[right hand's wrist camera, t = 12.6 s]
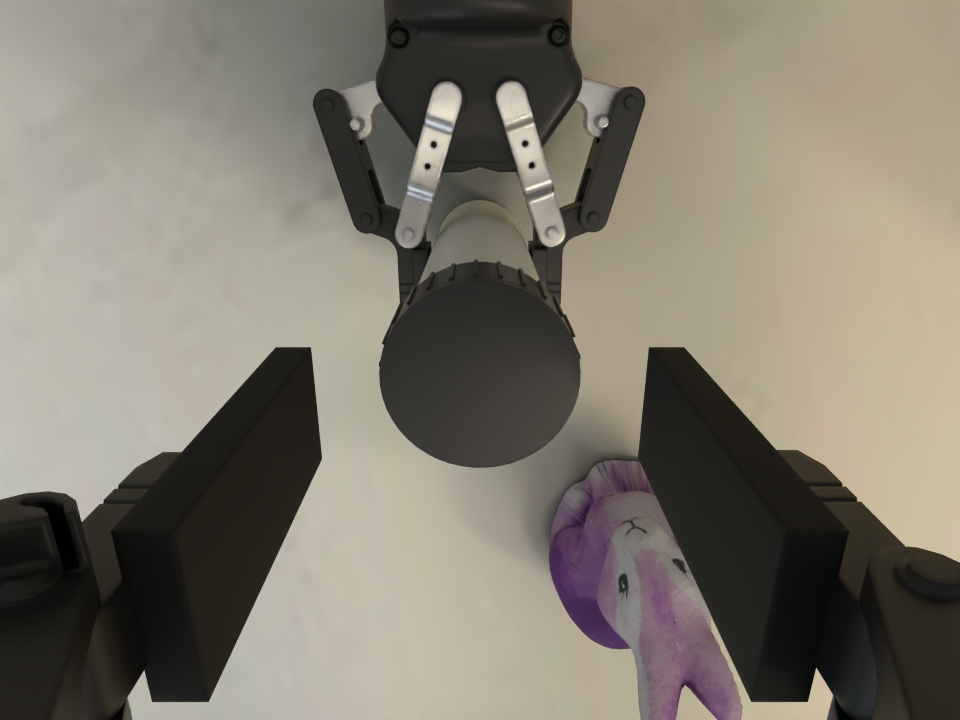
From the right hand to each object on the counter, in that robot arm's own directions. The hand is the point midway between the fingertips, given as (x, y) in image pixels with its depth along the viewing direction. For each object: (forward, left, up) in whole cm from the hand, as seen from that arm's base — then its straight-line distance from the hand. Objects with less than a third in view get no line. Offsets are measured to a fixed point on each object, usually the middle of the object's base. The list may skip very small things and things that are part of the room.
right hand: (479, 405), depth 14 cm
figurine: (-17, +10, -22) cm, 30 cm away
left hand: (-2, +2, -16) cm, 16 cm away
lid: (0, 0, -3) cm, 3 cm away
